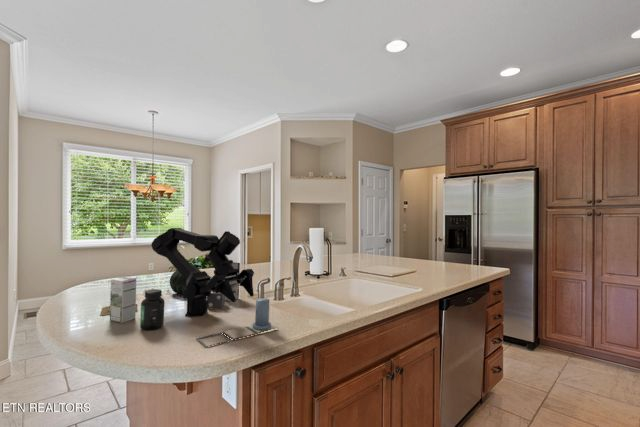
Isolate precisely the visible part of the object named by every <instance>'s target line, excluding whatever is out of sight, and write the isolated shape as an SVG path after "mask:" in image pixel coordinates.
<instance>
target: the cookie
mask: <svg viewBox="0 0 640 427" xmlns="http://www.w3.org/2000/svg"><path fill="white" fill-rule="evenodd" d="M136 313H138V304H136ZM99 316H100V317H105V316H110V305H108V306H104V307H102V308H101V311H100V314H99Z"/></svg>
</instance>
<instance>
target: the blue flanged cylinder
mask: <svg viewBox="0 0 640 427" xmlns="http://www.w3.org/2000/svg"><path fill="white" fill-rule="evenodd" d="M252 325H253V329H255V330H267V329H270V328H271V325H272V323H271V321H270V299H269V298H265V297H263V298H257V299H255V320H254V322H253V323H252Z"/></svg>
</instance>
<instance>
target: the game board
mask: <svg viewBox="0 0 640 427" xmlns="http://www.w3.org/2000/svg"><path fill="white" fill-rule="evenodd" d="M275 328H277V326H274V325H272V324H271V328H270V329H267V330H255V329H253V324H252V325H247V326H244V327H243V326H242V327H238V328H233V329H230V330H229V329H228V330H224V331H222V332H216V333H212V334H209V335H203V336H199V337H196V338H195V340H198V341H197V342H199V343H200V344H201V345H202V346H203V345H204V346H205V347H204V348H206V347H207V348H209V347H208V346H211V347H213V346H212V345H215V344H219V345H221V344H220V343H223V342H227V343H229V342H228V341H231V339H233V340H235V339H239V338H243V337H247V336H251V335H255V334H258V333H261V332H264V331H268V330H271V329H275ZM222 333H223V334H222ZM217 334H222V335H223V336H224V338H225V337H226V338H227V339H229V340H227V339H226V338H225V339H226V340H224V341H220V342H215V343H212V344H208V345H207V344H206V343H204V342H203V341H202V340H201V338H202V339H205V337H206V338H210V337H209V336H211V337H214V336H213V335H215V336H218V335H217ZM224 334H225V335H226V336H225V335H224ZM222 335H221V336H222ZM223 336H222V337H223ZM227 336H228V337H229V338H228V337H227ZM230 338H231V339H230ZM223 344H224V343H223ZM215 346H216V345H215Z"/></svg>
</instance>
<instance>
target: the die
mask: <svg viewBox="0 0 640 427" xmlns="http://www.w3.org/2000/svg"><path fill="white" fill-rule="evenodd" d="M206 300H208V308H222V307H223V308H224V306H225V305H226V300H225V296H224V295H223V294H222V293H220V292H218V293H215V292H212V291H211V294H210V296H207V297H206ZM223 308H222V309H223Z"/></svg>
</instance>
